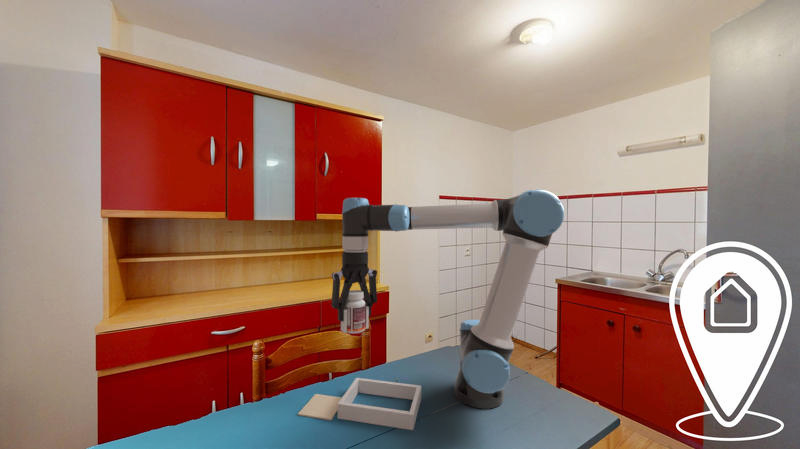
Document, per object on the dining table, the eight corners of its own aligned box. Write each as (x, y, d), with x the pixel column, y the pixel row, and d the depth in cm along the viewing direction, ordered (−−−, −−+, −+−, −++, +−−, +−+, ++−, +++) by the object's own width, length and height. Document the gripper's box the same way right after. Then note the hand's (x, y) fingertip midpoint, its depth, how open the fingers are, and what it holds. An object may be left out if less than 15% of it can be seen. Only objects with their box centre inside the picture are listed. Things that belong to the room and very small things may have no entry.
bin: (421, 398, 91) (421, 385, 91) (413, 430, 77) (413, 415, 77) (356, 390, 96) (356, 377, 96) (337, 418, 82) (337, 403, 82)
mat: (345, 399, 91) (345, 398, 91) (330, 420, 81) (330, 418, 81) (315, 395, 93) (315, 393, 93) (297, 415, 83) (297, 413, 83)
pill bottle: (368, 327, 89) (368, 290, 89) (361, 335, 83) (361, 294, 83) (348, 326, 91) (348, 289, 91) (340, 333, 85) (340, 293, 85)
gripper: (377, 248, 95) (377, 320, 95) (319, 251, 85) (318, 331, 85) (389, 250, 89) (389, 327, 89) (327, 253, 79) (327, 340, 79)
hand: (354, 329), depth 87 cm, fingers closed on pill bottle, 6 cm apart
